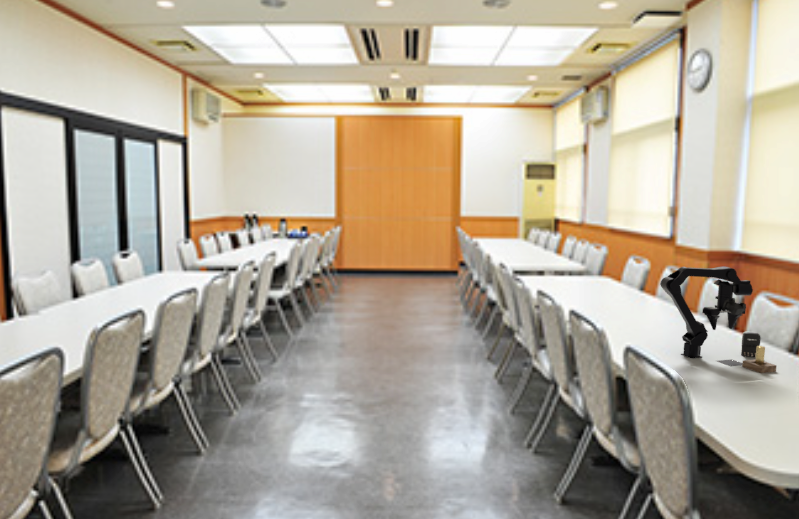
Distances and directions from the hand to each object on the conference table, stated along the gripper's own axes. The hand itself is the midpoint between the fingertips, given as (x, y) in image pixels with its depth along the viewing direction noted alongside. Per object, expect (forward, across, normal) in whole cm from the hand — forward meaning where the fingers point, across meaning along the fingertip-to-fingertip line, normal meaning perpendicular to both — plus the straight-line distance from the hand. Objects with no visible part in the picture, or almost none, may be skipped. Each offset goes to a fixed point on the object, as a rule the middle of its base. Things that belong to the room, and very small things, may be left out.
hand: (722, 329), depth 255 cm
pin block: (+13, +1, -19) cm, 23 cm away
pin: (+13, +1, -19) cm, 23 cm away
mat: (+13, -3, -9) cm, 16 cm away
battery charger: (+13, +14, -3) cm, 19 cm away
